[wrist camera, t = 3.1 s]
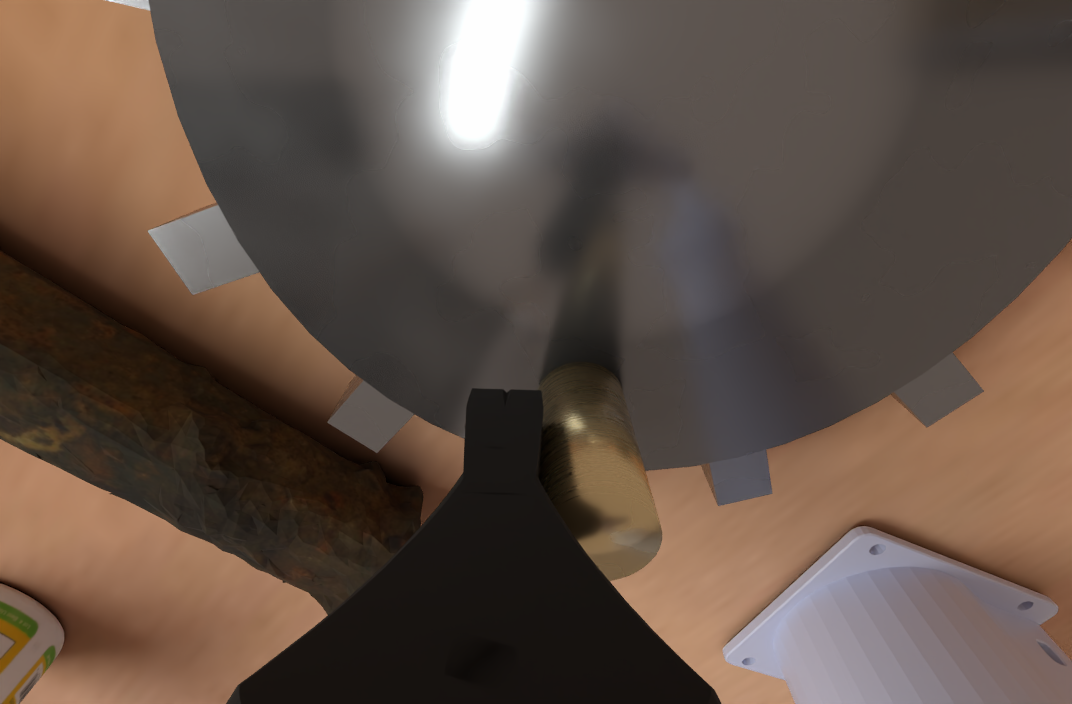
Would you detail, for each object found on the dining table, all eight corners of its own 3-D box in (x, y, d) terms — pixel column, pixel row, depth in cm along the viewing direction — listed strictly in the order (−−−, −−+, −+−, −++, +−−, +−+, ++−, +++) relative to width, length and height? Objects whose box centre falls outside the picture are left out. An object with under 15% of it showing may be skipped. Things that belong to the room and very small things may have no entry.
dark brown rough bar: (444, 476, 17) (416, 608, 12) (369, 538, 18) (321, 676, 14) (-298, -52, 10) (-876, -139, 6) (-331, 107, 11) (-821, 127, 7)
